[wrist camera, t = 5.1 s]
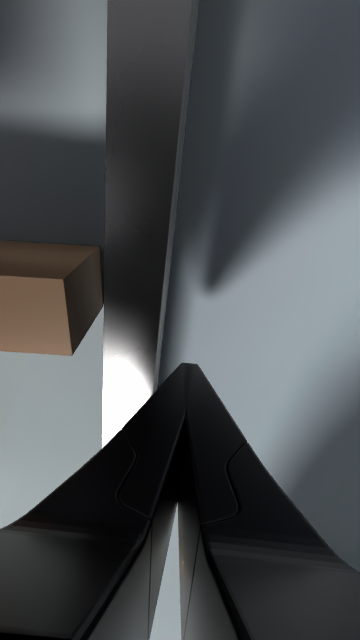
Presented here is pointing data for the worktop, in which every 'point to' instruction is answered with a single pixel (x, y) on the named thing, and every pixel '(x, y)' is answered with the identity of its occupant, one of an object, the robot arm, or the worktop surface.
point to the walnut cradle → (47, 296)
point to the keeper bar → (141, 190)
